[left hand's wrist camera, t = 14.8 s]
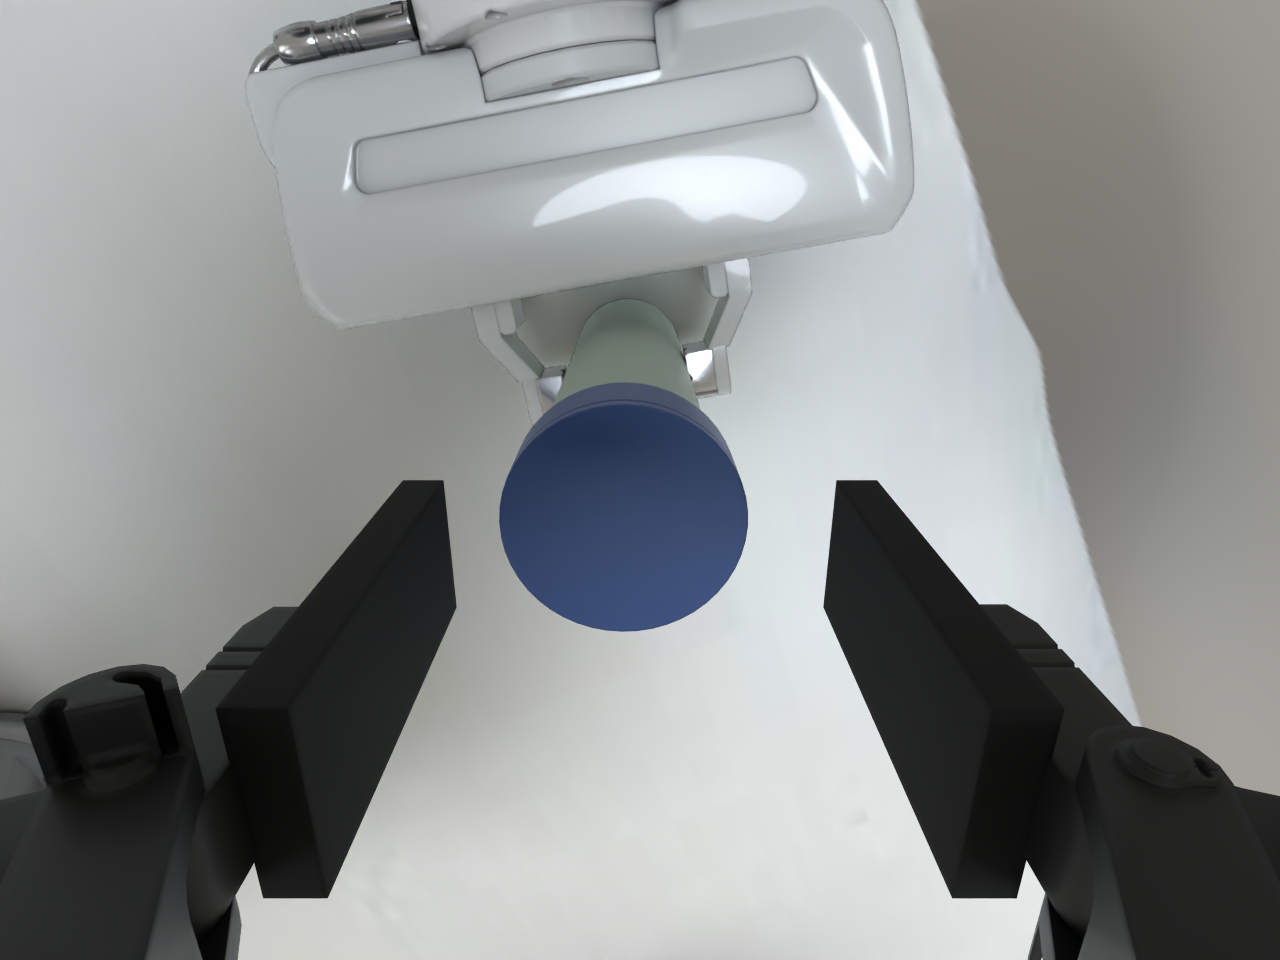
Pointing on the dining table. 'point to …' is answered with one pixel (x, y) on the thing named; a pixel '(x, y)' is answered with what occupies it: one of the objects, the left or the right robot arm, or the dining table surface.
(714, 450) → the lid
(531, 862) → the dining table surface
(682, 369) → the pale green cylinder
